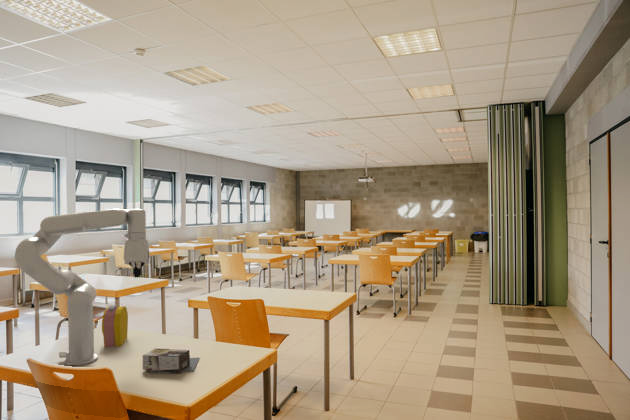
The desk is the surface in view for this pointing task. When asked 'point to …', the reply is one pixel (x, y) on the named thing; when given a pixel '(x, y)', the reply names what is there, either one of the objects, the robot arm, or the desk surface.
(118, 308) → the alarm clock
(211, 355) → the desk surface
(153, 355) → the coffee box
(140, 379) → the desk surface
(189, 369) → the mat
